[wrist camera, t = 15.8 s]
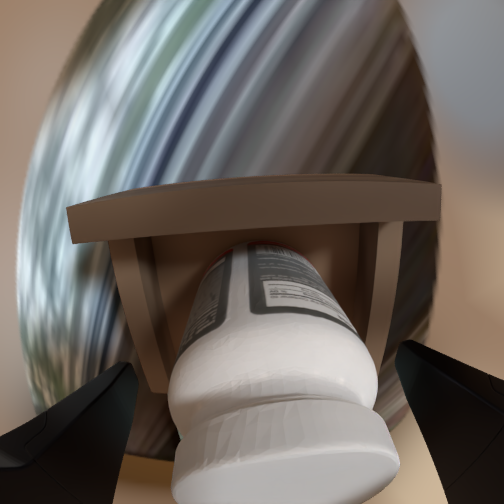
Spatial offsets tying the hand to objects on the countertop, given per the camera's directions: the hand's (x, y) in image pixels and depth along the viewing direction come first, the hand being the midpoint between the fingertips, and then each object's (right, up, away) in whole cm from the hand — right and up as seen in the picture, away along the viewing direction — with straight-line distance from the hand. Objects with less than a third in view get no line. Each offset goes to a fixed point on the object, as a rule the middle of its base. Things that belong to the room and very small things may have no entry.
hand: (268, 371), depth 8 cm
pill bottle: (0, +2, +5) cm, 6 cm away
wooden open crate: (0, +3, +6) cm, 7 cm away
